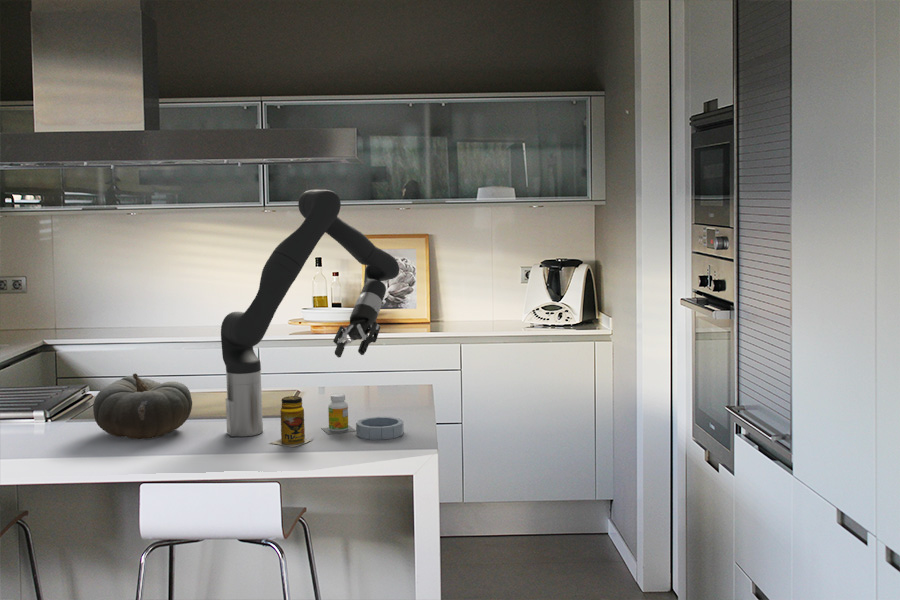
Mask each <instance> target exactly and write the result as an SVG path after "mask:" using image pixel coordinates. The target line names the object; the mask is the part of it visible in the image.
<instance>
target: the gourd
mask: <svg viewBox="0 0 900 600" xmlns="http://www.w3.org/2000/svg"><path fill="white" fill-rule="evenodd" d="M92 406H93V415H94V416H93V417H94V420H95V423H96V424H97V426H98V427H99V428H100V429H101V430H102V431H104V432H105V433H107V434H109V435H111V436H113V437H116V438H123V437H126V438H128V439H133V440H150V439H155V438H159V437H163V436H165V435H167V434H170V433H171V432H173V431H176V430H177V429H179V428H180V427H182V426H183V425H184V424H185V423H186V421H187V420H188V419H189V417H190V416H191V413H192V410H193V409H192V408H193V399H192V395H191V392H190V389H189V387H188V386H186V384H184V383H182V382H179V381H165V382H163V383H161V382H158V381H155V380H154V379H150V378H142V377H139V376H138V374H137V373H135V372H134V373H133V374H132V376H131V375H128V376H123V377H122V378H120V379H119V380H116V381H113V382H112V383H110V384H108V385H106V386H104V387H103V388H102V389H101V390H100V391H99V392H98V393H97V394H96V396H95V398H94V400H93V405H92Z"/></svg>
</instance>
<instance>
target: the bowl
mask: <svg viewBox="0 0 900 600" xmlns="http://www.w3.org/2000/svg"><path fill="white" fill-rule="evenodd" d="M404 427H405V426H404V420H403V419H401V418H399V417H393V416H373V417H370V416H369V417H365V418H362V419H359V420H357V422H355V430H356V431H355V433H356V436H357V437H359V438H360V439H365V440H374V441H375V440H379V441H380V440H381V441H382V440H390V439H396V438H399V437H402V436H403V434H404V431H405V430H404Z"/></svg>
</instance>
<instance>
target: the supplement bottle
mask: <svg viewBox="0 0 900 600" xmlns="http://www.w3.org/2000/svg"><path fill="white" fill-rule="evenodd" d="M345 400H346V394H345V393H333V394H331V395H330V401H331V402H328V403H329V404H328V408H327V409H328V427H329V430H330V431H336V432H339V431H345V430H347V429H348V425H349V405H348V403H347V402H346V401H345Z"/></svg>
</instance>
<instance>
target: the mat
mask: <svg viewBox="0 0 900 600" xmlns="http://www.w3.org/2000/svg"><path fill="white" fill-rule="evenodd" d="M320 429H321V430H322V431H323V432H324V433H325V434H327V435H335V434H345V433H346V434H347V433H351V432H352V433H353V432H354V433H355V432H356V428H353V427H352V426H350V425H349V424H348V429H347V430H345V431H339V432H336V431H330V430H329V426H328V427H322V428H320Z"/></svg>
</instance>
